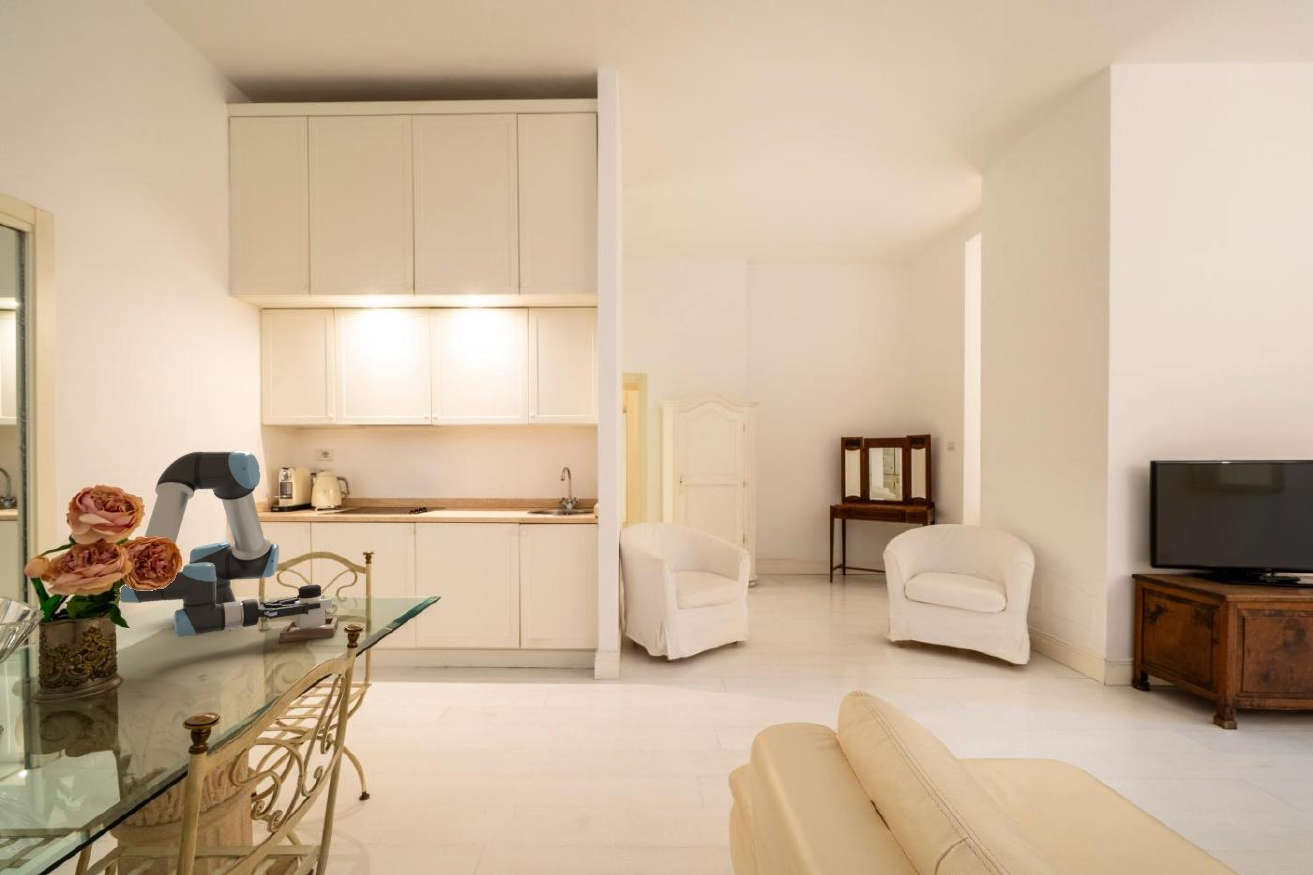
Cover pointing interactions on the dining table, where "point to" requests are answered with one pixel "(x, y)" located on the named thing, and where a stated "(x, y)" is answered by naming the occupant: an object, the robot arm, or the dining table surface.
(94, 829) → the dining table surface
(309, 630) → the wooden tray
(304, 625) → the medicine bottle
